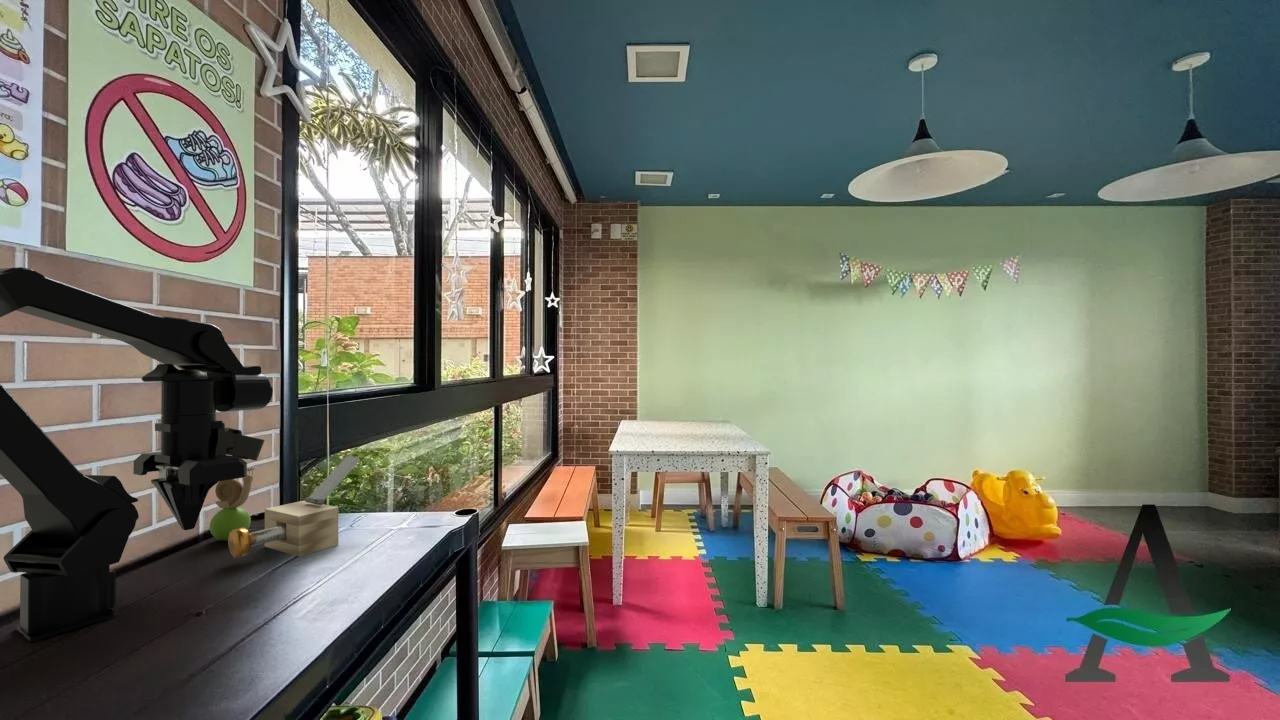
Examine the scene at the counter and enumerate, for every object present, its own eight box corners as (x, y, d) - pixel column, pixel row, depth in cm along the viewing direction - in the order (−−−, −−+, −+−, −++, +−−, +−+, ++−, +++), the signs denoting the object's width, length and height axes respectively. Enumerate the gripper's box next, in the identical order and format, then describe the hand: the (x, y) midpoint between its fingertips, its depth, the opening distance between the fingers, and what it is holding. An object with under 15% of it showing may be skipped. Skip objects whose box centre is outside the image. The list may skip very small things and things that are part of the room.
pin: (241, 559, 75) (241, 531, 75) (228, 555, 77) (228, 528, 77) (333, 533, 86) (333, 509, 86) (320, 530, 88) (320, 507, 88)
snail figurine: (239, 544, 85) (239, 470, 85) (200, 545, 85) (200, 471, 85) (264, 534, 90) (264, 464, 90) (227, 534, 90) (227, 465, 90)
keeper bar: (321, 506, 85) (317, 502, 84) (307, 503, 86) (303, 500, 86) (362, 460, 91) (358, 456, 90) (348, 458, 93) (345, 455, 92)
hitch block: (298, 556, 79) (298, 516, 79) (264, 546, 83) (264, 508, 84) (338, 544, 84) (338, 507, 84) (304, 535, 89) (304, 500, 89)
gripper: (289, 411, 74) (289, 522, 73) (225, 409, 83) (225, 507, 83) (192, 418, 64) (191, 546, 64) (132, 414, 73) (131, 526, 73)
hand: (188, 529), depth 71 cm, fingers closed
